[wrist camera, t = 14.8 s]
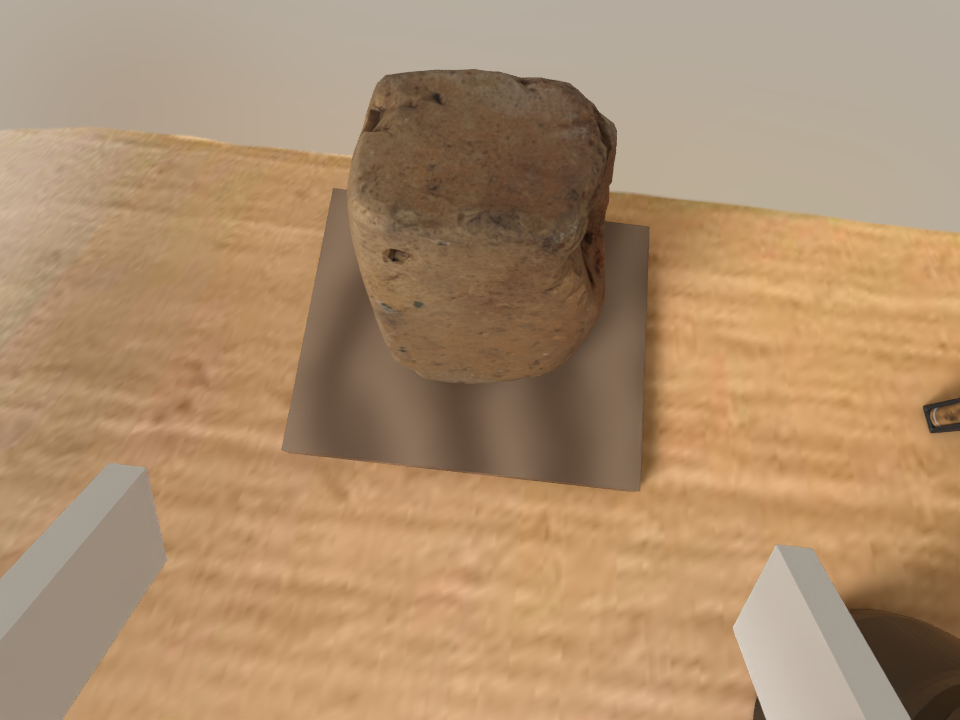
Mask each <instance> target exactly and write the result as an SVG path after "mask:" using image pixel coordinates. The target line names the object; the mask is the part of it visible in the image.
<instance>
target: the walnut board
mask: <svg viewBox="0 0 960 720" xmlns="http://www.w3.org/2000/svg"><path fill="white" fill-rule="evenodd" d="M603 235H604V239H605V298H604V303H603V306H602V308H601V311H600V314H599V316H598V318H597V320H596V322H595V324H594V326H593V327H592V329H591V330H590V332H589V334H588V335H587V336H586V338H585V339H584V340H583V341H582V343H581V344H580V346H579V347H578V348H577V350H576V351H575V352H574V353H573V354H572V356H571V357H570V358H569V359H568V360H567V361H566V362H565V363H563V364H562V365H561V366H560V367H559V368H557V369H556V370H554V371H552V372H548V373H545V374H543V375H541V376H538V377H526V378H522V379H518V380H514V381H500V382H495V383H492V384H465V383H449V382H441V381H435V380H430V379H425V378H423V377H421V376H420V375H418V374H417V373H416V372H415V371H414V370H412V369H409V368H406V367H404V366H403V365H401V364H399V363H398V362H397V361H396V360H395V359H394V358H393V356H392V354H391V352H390V350H389V347H388V346H387V345H386V343H385V341H384V338H383V336H382V333H381V331H380V329H379V325H378V323H377V320H376V318H375V314H374V311H373V308H372V305H371V302H370V300H369V297H368V294H367V291H366V288H365V285H364V282H363V279H362V276H361V272H360V269H359V264H358V261H357V257H356V253H355V250H354V246H353V242H352V237H351V231H350V224H349V218H348V206H347V190H343V189H334V188H333V192H332V197H331V202H330V207H329V212H328V217H327V222H326V227H325V232H324V238H323V243H322V248H321V253H320V258H319V263H318V268H317V273H316V278H315V283H314V288H313V293H312V298H311V303H310V308H309V313H308V318H307V323H306V329H305V334H304V339H303V344H302V349H301V354H300V359H299V364H298V369H297V374H296V379H295V384H294V389H293V394H292V399H291V404H290V409H289V414H288V420H287V425H286V430H285V435H284V440H283V445H282V450H283V451H285V452H288V453H296V454H305V455H314V456H322V457H331V458H340V459H349V460H358V461H366V462H375V463H384V464H393V465H401V466H410V467H419V468H428V469H437V470H445V471H454V472H463V473H472V474H481V475H489V476H498V477H507V478H516V479H525V480H533V481H542V482H551V483H560V484H569V485H577V486H586V487H595V488H604V489H613V490H621V491H630V492H635V491H640V482H641V453H642V424H643V395H644V367H645V338H646V309H647V280H648V251H649V227H647V226H639V225H631V224H622V223H614V222H606V221H605V224H604V232H603Z"/></svg>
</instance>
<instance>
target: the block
mask: <svg viewBox="0 0 960 720" xmlns="http://www.w3.org/2000/svg"><path fill="white" fill-rule="evenodd" d="M616 140H617V130H616V128H615V125H614V123H613V122H611V121H610V120H609V119H607V118H606V117H605V116H603V115H602V114H601V113H599V111H598V110H597V108H596V106H595V105H594V104H593V103H592V102H591V101H589V100H588V99H587V98H586V97H585V96H584V95H583V94H582V93H581V92H580V91H579V90H578V89H576V88H575V87H573V86H572V85H571V84H570V83H567V82H561V81H556V80H550V79H545V78H520V77H516V76H513V75H509V74H506V73H502V72H491V71H483V70H476V69H469V70H429V71H416V72H406V73H399V74H392V75H385V76H384V77H383V78H382V79H381V80H380V81H379V82H378V83H377V85H376V87H375V89H374V92H373V95H372V98H371V101H370V104H369V107H368V110H367V114H366V117H365V122H364V126H363V129H362V132H361V134H360V137H359V140H358V143H357V145H356V148H355V150H354V154H353V157H352V162H351V167H350V174H349V180H348V187H347V206H348V218H349V224H350V231H351V237H352V242H353V246H354V250H355V253H356V257H357V261H358V264H359V269H360V272H361V276H362V279H363V282H364V285H365V288H366V291H367V294H368V297H369V300H370V302H371V305H372V308H373V311H374V314H375V318H376V320H377V323H378V325H379V329H380V331H381V333H382V336H383V338H384V341H385V343H386V345H387V346H388V347H389V350H390V352H391V354H392V356H393V358H394V359H395V360H396V361H397V362H398V363H399V364H401V365H403V366H404V367H406V368H409V369H412V370H414V371H415V372H416V373H417V374H418V375H420V376H421V377H423V378H425V379H430V380H435V381H441V382H449V383H465V384H492V383H495V382H500V381H514V380H518V379H522V378H526V377H538V376H541V375H543V374H545V373H548V372H552V371H554V370H556V369H557V368H559V367H560V366H561V365H562V364H563V363H565V362H566V361H567V360H568V359H569V358H570V357H571V356H572V354H573V353H574V352H575V351H576V350H577V348H578V347H579V346H580V344H581V343H582V341H583V340H584V339H585V338H586V336H587V335H588V334H589V332H590V330H591V329H592V327H593V326H594V324H595V322H596V320H597V318H598V316H599V314H600V311H601V308H602V306H603V303H604V298H605V239H604V235H603V232H604V224H605V213H606V209H607V205H608V202H609V185H610V184H611V182H612V175H613V167H614V161H615V155H616V145H617V141H616Z"/></svg>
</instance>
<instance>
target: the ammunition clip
mask: <svg viewBox="0 0 960 720" xmlns="http://www.w3.org/2000/svg"><path fill="white" fill-rule="evenodd" d="M923 409H924V412H925V416H926V419H927V423H928V426H929V430H930V432H931V433H940V432H951V431H960V398H957V399H953V400H948V401H944V402H939V403H935V404H930V405H926V406H923Z"/></svg>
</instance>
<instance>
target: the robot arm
mask: <svg viewBox="0 0 960 720" xmlns="http://www.w3.org/2000/svg"><path fill="white" fill-rule="evenodd" d="M166 561H167V557H166V553H165V549H164V544H163V540H162V535H161V531H160V526H159V522H158V517H157V513H156V508H155V504H154V500H153V495H152V491H151V486H150V482H149V477H148V473H147V468H146V467H138V466H130V465H122V464H113V463H109V464H108V465H107V466H106V467H105V468H104V469H103V470H102V471H101V472H100V473H99V474H98V475H97V476H96V477H95V478H94V480H93V481H92V482H91V483H90V484H89V485H88V486H87V487H86V488H85V489H84V490H83V491H82V492H81V493H80V494H79V495H78V497H77V498H76V499H75V500H74V501H73V502H72V503H71V504H70V505H69V506H68V507H67V508H66V509H65V510H64V511H63V513H62V514H61V515H60V516H59V517H58V518H57V519H56V520H55V521H54V522H53V523H52V524H51V525H50V526H49V527H48V528H47V530H46V531H45V532H44V533H43V534H42V535H41V536H40V537H39V538H38V539H37V540H36V541H35V542H34V543H33V544H32V546H31V547H30V548H29V549H28V550H27V551H26V552H25V553H24V554H23V555H22V556H21V557H20V558H19V559H18V560H17V561H16V563H15V564H14V565H13V566H12V567H11V568H10V569H9V570H8V571H7V572H6V573H5V574H4V575H3V576H2V577H1V579H0V720H62V719H63V718H64V716H65V715H66V713H67V712H68V710H69V709H70V707H71V706H72V704H73V703H74V701H75V699H76V698H77V696H78V695H79V693H80V692H81V690H82V689H83V687H84V686H85V684H86V683H87V681H88V680H89V678H90V677H91V675H92V674H93V672H94V671H95V669H96V668H97V666H98V664H99V663H100V661H101V660H102V658H103V657H104V655H105V654H106V652H107V651H108V649H109V648H110V646H111V645H112V643H113V642H114V640H115V639H116V637H117V636H118V634H119V633H120V631H121V629H122V628H123V626H124V625H125V623H126V622H127V620H128V619H129V617H130V616H131V614H132V613H133V611H134V610H135V608H136V607H137V605H138V604H139V602H140V601H141V599H142V597H143V596H144V594H145V593H146V591H147V590H148V588H149V587H150V585H151V584H152V582H153V581H154V579H155V578H156V576H157V575H158V573H159V572H160V570H161V569H162V567H163V566H164V564H165V562H166ZM733 630H734V633H735V636H736V639H737V641H738V644H739V647H740V650H741V652H742V655H743V658H744V660H745V663H746V666H747V669H748V671H749V674H750V677H751V680H752V682H753V685H754V688H755V691H756V693H757V699H756V703H755V709H754V717H753V720H960V640H959V639H958V638H956V637H954V636H953V635H951V634H949V633H947V632H945V631H943V630H941V629H939V628H937V627H935V626H933V625H930V624H928V623H925V622H923V621H920V620H917V619H913V618H910V617H905V616H901V615H896V614H892V613H888V612H883V611H878V610H871V609H849V610H848V609H847V608H846V606H845V604H844V602H843V601H842V599H841V597H840V595H839V594H838V592H837V590H836V588H835V587H834V585H833V583H832V582H831V580H830V578H829V576H828V575H827V573H826V571H825V569H824V568H823V566H822V564H821V562H820V561H819V559H818V557H817V556H816V554H815V552H814V550H813V549H810V548H802V547H794V546H785V545H777V544H776V546H775V548H774V550H773V552H772V554H771V556H770V558H769V559H768V561H767V563H766V565H765V567H764V569H763V571H762V573H761V575H760V577H759V579H758V580H757V582H756V584H755V586H754V588H753V590H752V592H751V594H750V596H749V598H748V600H747V601H746V603H745V605H744V607H743V609H742V611H741V613H740V615H739V617H738V619H737V621H736V623H735V624H734V626H733Z"/></svg>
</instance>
